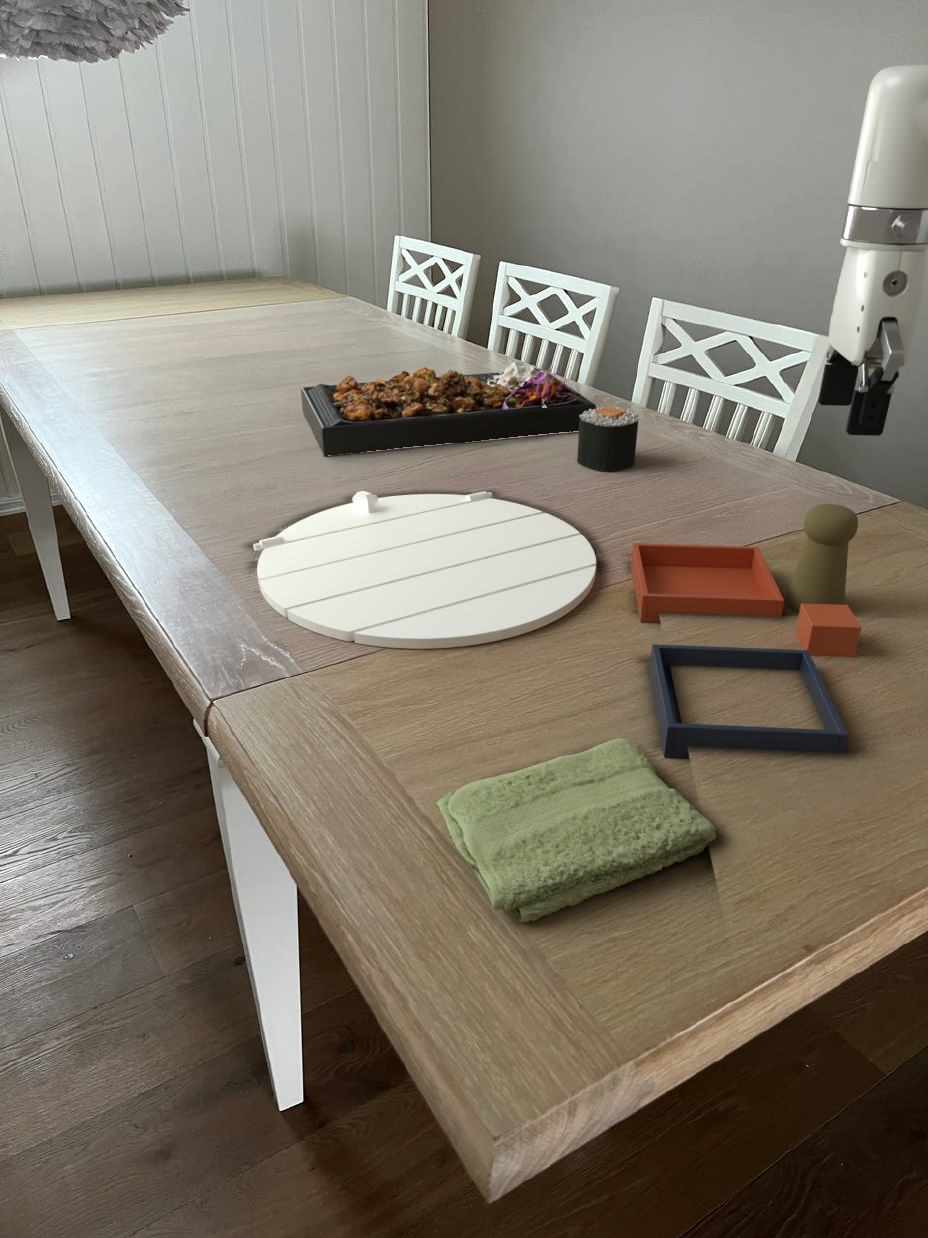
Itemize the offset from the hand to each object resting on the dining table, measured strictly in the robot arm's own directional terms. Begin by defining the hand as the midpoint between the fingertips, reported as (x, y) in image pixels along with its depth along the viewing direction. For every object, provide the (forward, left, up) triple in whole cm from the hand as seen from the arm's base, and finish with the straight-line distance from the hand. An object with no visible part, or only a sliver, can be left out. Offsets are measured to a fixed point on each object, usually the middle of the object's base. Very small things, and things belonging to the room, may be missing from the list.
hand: (848, 418), depth 90 cm
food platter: (+46, -63, -21) cm, 81 cm away
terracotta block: (+1, +11, -20) cm, 23 cm away
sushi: (+19, -44, -21) cm, 53 cm away
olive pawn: (-1, 0, -21) cm, 21 cm away
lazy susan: (+42, -7, -21) cm, 48 cm away
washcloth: (+26, +39, -21) cm, 51 cm away
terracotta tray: (+11, -1, -20) cm, 23 cm away
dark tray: (+11, +22, -20) cm, 32 cm away
